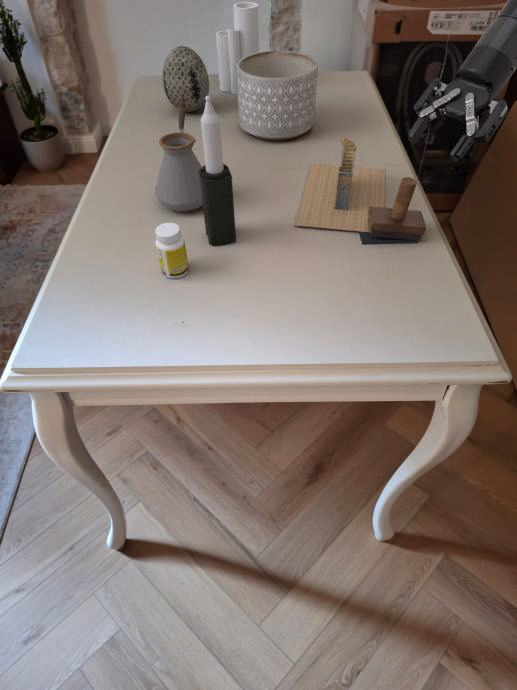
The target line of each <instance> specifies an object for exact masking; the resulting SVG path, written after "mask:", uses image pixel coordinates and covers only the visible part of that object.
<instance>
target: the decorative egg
mask: <svg viewBox="0 0 517 690" xmlns="http://www.w3.org/2000/svg"><path fill="white" fill-rule="evenodd" d="M208 73H209V72H208V69H207V67H206V65H205V62H204V61H203V59H202V58H201V56H200V55H199V53H197V52H196V51H195V50H194V49H192V48H190V47H188V46H186V45H185V46H184V45H180V46H177V47H174V48H172V49H171V50H170V52H169V53H168V54H167V55H166V58H165V60H164V63H163V67H162V86H163V90H164V94H165V96H166V97H167V98H166V99H168V101H169V102H170V104H171V105H172V106H174V108H176V109H177V110H179V111H180V106H179V104H180V103H181V99H179V98H181V97H182V96H184V97H186V98H188V99H189V100H190V101H189V100H188V99H186V98H185V102H184V104H186V103H188V102H189V103H188V104H186V106H185V108H184V110H185V113H186V112H187V113H192V112H195V111H197V110H199V109H200V108H202V107H203V106H204V104H206V100H205V98H206V96H209V93H210V79H209V74H208ZM178 100H179V102H180V103H179V102H178Z"/></svg>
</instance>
